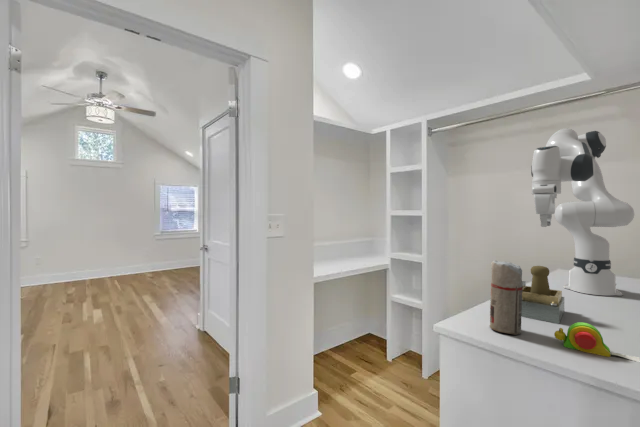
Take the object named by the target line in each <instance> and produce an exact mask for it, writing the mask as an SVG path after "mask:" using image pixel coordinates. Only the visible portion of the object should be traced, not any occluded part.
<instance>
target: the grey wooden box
mask: <svg viewBox="0 0 640 427" xmlns="http://www.w3.org/2000/svg"><path fill="white" fill-rule="evenodd" d="M526 284H527V282H526V281H524V280H522V311H521V312H522V316H521V317H524V318H527V319H528V318H529V319H534V320H537V321H542V322H549V323H553V324H558V325H559V324H560V323H561V320H562V318H563V316H564V314H565V296H563V291H562V290H558V289H550V294H551V296H549V295H542V294H536V293H530V292H531V286H529V285H526Z"/></svg>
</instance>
